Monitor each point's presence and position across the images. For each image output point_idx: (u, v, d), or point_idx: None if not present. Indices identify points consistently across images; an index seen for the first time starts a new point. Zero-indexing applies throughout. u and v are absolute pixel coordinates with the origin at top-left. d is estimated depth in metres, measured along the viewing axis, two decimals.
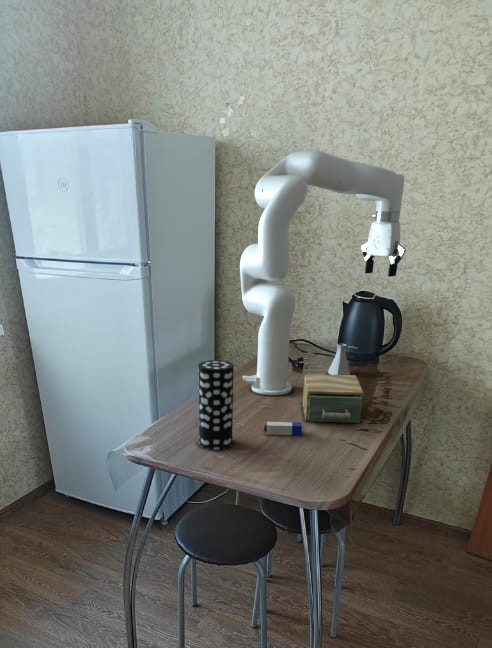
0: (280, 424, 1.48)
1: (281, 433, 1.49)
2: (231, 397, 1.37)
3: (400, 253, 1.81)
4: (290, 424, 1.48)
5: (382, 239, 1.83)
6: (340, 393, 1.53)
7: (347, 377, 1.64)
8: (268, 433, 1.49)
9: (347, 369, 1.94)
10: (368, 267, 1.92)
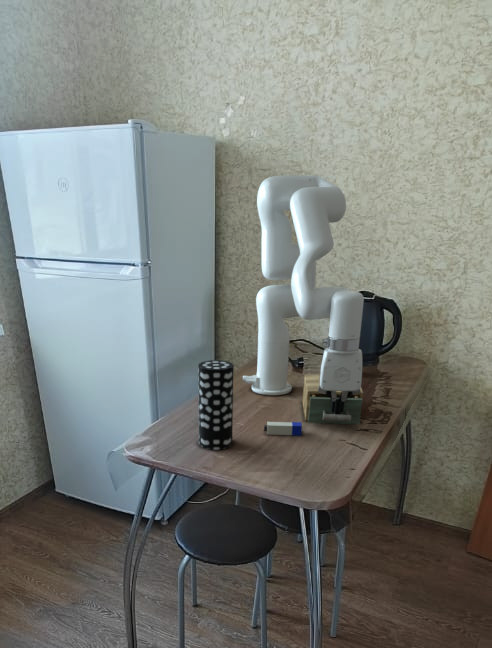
0: (280, 424, 1.48)
1: (281, 433, 1.49)
2: (231, 397, 1.37)
3: (354, 391, 1.46)
4: (290, 424, 1.48)
5: (348, 371, 1.42)
6: (340, 393, 1.53)
7: None
8: (268, 433, 1.49)
9: None
10: None
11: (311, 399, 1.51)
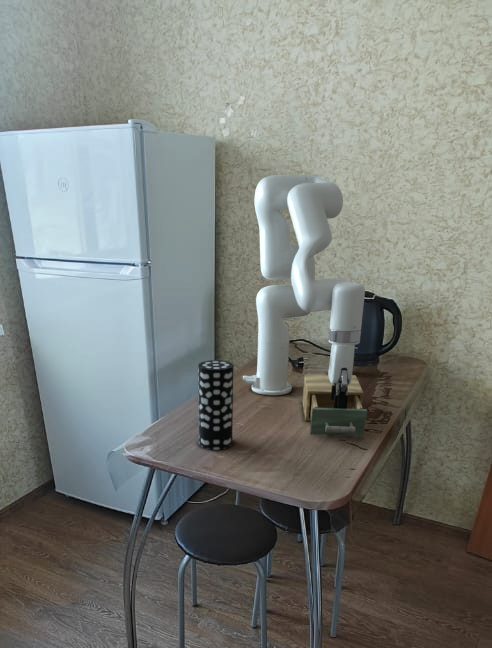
0: None
1: None
2: (231, 397, 1.37)
3: (341, 386, 1.40)
4: None
5: (331, 362, 1.43)
6: None
7: None
8: None
9: None
10: (334, 393, 1.51)
11: (313, 410, 1.44)
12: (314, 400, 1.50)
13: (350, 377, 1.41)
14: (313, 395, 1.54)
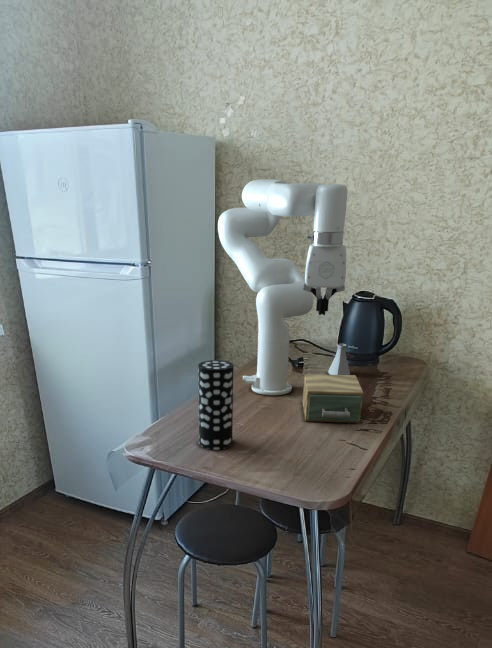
0: None
1: None
2: (231, 397, 1.37)
3: (338, 289, 1.49)
4: None
5: (332, 266, 1.45)
6: (340, 393, 1.53)
7: (347, 377, 1.64)
8: None
9: (347, 369, 1.94)
10: (322, 307, 1.51)
11: (310, 396, 1.53)
12: None
13: None
14: None
